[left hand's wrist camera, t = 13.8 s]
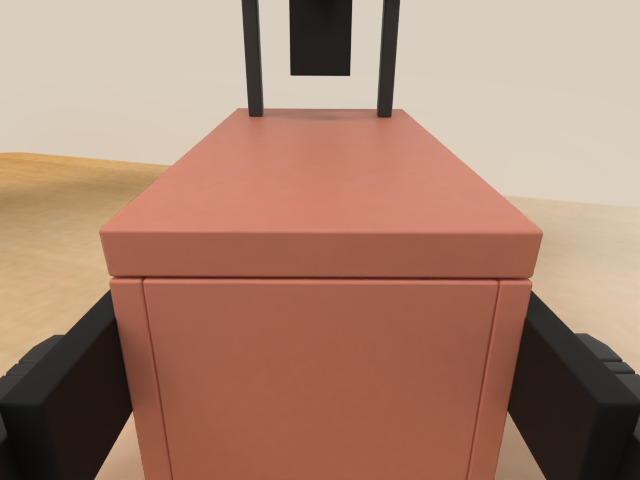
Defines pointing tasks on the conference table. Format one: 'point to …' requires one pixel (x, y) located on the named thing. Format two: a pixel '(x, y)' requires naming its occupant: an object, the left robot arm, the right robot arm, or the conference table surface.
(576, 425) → the left robot arm
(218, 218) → the lid
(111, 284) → the chest
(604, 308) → the conference table surface
